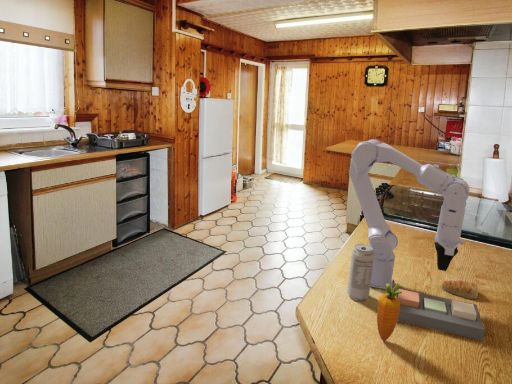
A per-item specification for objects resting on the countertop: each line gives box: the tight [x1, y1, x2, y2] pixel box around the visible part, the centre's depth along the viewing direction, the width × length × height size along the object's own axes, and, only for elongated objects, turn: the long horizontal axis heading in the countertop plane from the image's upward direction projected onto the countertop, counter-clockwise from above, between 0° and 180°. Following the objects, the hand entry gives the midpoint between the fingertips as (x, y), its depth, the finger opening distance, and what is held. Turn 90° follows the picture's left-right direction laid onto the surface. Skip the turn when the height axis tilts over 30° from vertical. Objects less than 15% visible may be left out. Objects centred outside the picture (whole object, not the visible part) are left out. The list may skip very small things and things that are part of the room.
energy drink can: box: [346, 243, 374, 302], centre depth 103 cm, size 6×6×15 cm
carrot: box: [376, 283, 402, 342], centre depth 84 cm, size 5×5×15 cm
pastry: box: [441, 279, 478, 300], centre depth 109 cm, size 9×7×4 cm
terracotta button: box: [398, 288, 420, 308], centre depth 98 cm, size 5×5×3 cm
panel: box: [391, 286, 486, 341], centre depth 96 cm, size 21×12×3 cm, turn 69°
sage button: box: [423, 298, 447, 314], centre depth 96 cm, size 5×5×3 cm
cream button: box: [450, 299, 477, 321], centre depth 93 cm, size 5×5×3 cm
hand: (441, 269), depth 102 cm, fingers closed
